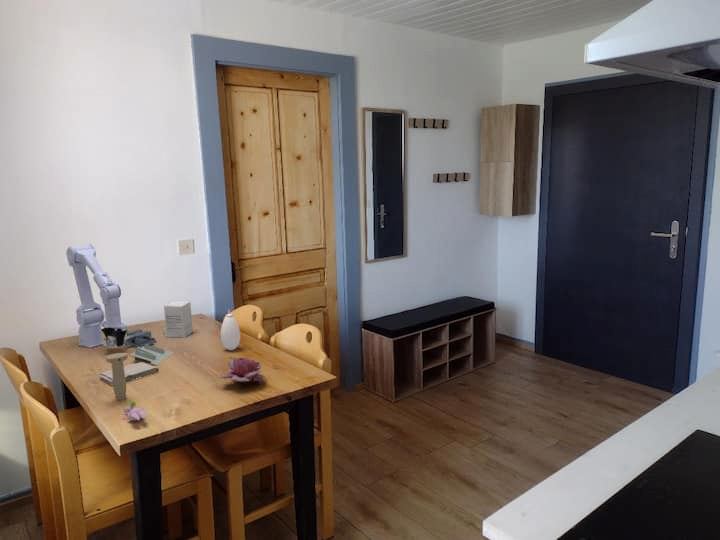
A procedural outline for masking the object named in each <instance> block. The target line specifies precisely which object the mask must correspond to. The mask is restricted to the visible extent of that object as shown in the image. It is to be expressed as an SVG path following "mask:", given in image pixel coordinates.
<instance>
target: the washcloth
mask: <svg viewBox="0 0 720 540" xmlns="http://www.w3.org/2000/svg"><path fill="white" fill-rule="evenodd" d="M123 367H124V373H125V379H126V383H129V382H132V381H134V380H133V379H136V378H139V377H142V378H144V376H145V377H148V376H147V375H149V376H151V375H150V374H152V375H155V374H158V372H159V371H160V369H159V368H158V366H155V365H150V364H148V363H146V362H143V361H141V362H140V361H139V362H136V363H132V364H128V365H123ZM154 373H155V374H154ZM98 377H99V379H100V380H101V381H102V382H104V383H107V384H108V385H109V384H110V386H112V387H113V374H112V369H110V370H107V371H104V372H100V373H99V375H98ZM139 379H140V378H139ZM131 380H132V381H131ZM136 380H137V379H136Z"/></svg>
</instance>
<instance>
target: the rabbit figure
mask: <svg viewBox="0 0 720 540" xmlns="http://www.w3.org/2000/svg"><path fill="white" fill-rule="evenodd" d="M121 415H124V416H125V415H126V418H127V419H128V420H132V421H141V420H140V419H143V420H144V419H146V417H147V412H146V411H144V408H143V407H137V406H136V402H135V400H134V399H131V401H130V404H129V406H127V407H126V406H124V409H123V412H122V413H121Z"/></svg>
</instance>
